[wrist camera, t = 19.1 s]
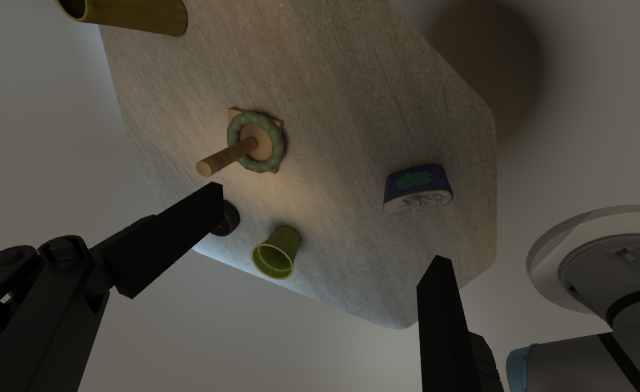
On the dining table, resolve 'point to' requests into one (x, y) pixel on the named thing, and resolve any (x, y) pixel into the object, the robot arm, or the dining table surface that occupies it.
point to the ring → (268, 127)
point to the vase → (130, 14)
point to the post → (241, 147)
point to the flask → (417, 189)
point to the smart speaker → (227, 222)
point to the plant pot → (277, 253)
